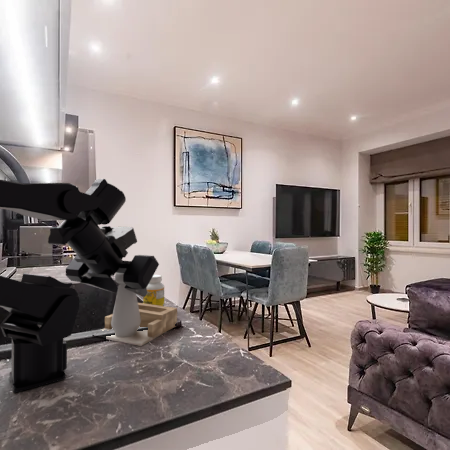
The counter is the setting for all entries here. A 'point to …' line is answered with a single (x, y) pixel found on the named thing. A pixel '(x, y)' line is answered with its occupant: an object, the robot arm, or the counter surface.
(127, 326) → the salt shaker
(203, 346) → the counter surface
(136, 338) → the dock
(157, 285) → the supplement bottle
